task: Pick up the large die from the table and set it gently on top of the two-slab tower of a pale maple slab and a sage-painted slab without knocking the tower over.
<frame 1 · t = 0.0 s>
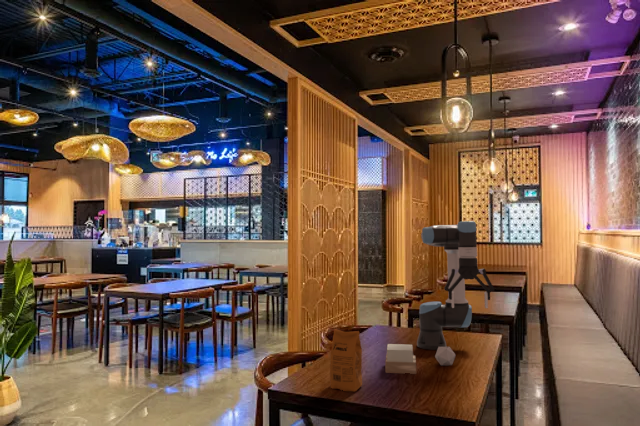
hand: (469, 307, 189), 28 cm above the table, tool pointing down, fingers open, 13 cm apart
bottom slab: (400, 369, 198), on the table, touching top slab
die: (445, 364, 204), on the table
top slab: (400, 358, 198), point 5 cm above the table, touching bottom slab
coffee package: (346, 387, 174), on the table
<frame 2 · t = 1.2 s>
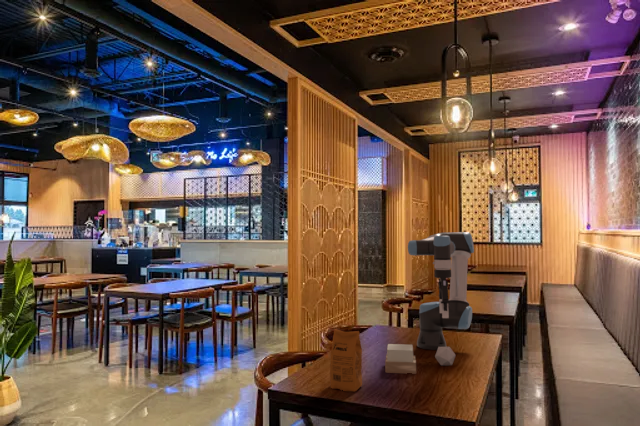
hand: (444, 315, 205), 22 cm above the table, tool pointing down, fingers open, 13 cm apart
nothing on the table moved.
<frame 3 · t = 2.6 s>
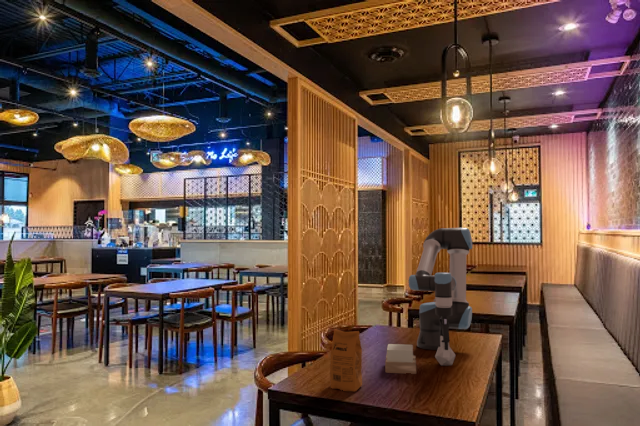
hand: (444, 353, 204), 5 cm above the table, tool pointing down, fingers open, 13 cm apart
nothing on the table moved.
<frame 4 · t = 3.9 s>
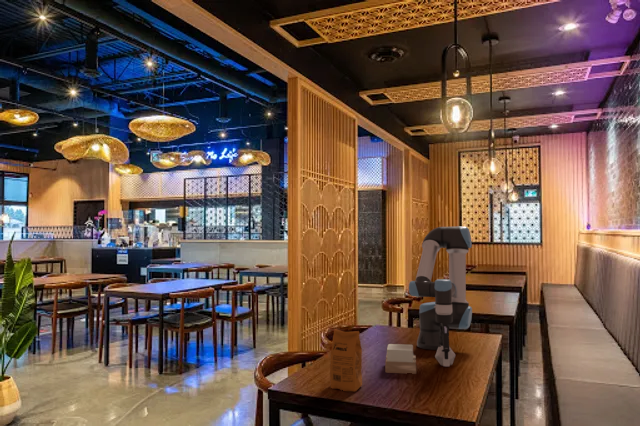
hand: (445, 363, 204), 1 cm above the table, tool pointing down, fingers closed on die, 9 cm apart
die: (445, 364, 204), on the table, touching gripper
everything else where it was.
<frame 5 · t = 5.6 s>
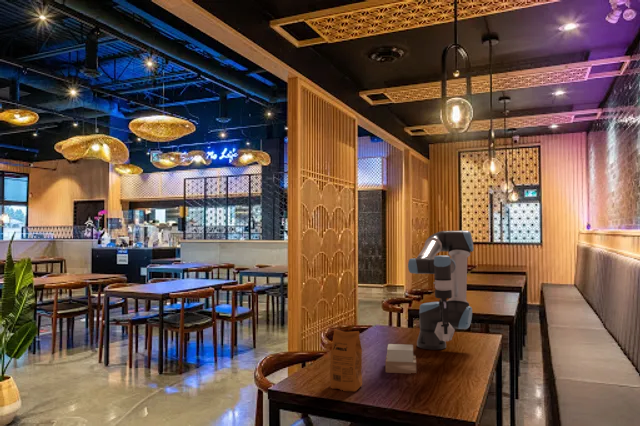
hand: (444, 338, 205), 12 cm above the table, tool pointing down, fingers closed on die, 9 cm apart
die: (444, 340, 205), point 11 cm above the table, touching gripper
everything else where it was.
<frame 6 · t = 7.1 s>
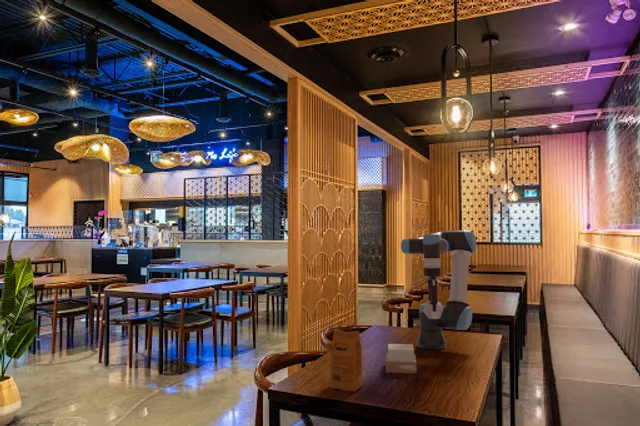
hand: (433, 316, 203), 22 cm above the table, tool pointing down, fingers closed on die, 9 cm apart
die: (433, 318, 203), point 21 cm above the table, touching gripper
everything else where it was.
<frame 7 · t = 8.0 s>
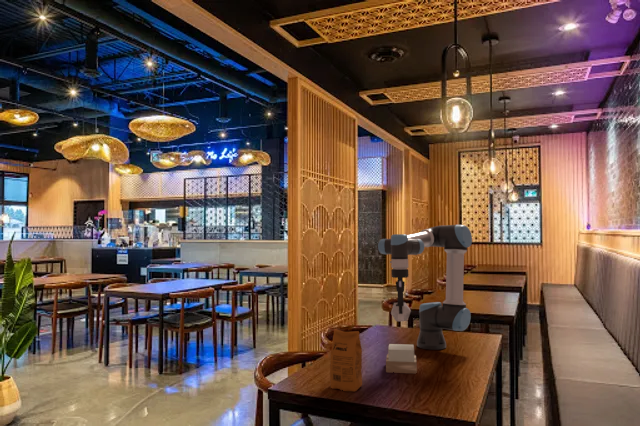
hand: (400, 319, 199), 22 cm above the table, tool pointing down, fingers closed on die, 9 cm apart
die: (400, 320, 199), point 21 cm above the table, touching gripper
everything else where it was.
when the fingers open (12 cm above the table, at t = 10.8 s): die drops 2 cm, resting on top slab.
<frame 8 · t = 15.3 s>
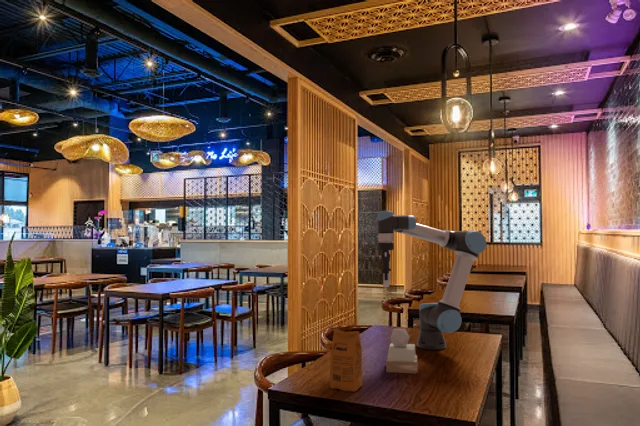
hand: (386, 285, 219), 35 cm above the table, tool pointing down, fingers open, 13 cm apart
die: (400, 347, 199), point 9 cm above the table, touching top slab
top slab: (402, 358, 199), point 4 cm above the table, touching bottom slab, die
at the end: die inside the target area on the top slab (0.8 cm from its centre), point 4.8 cm above the top slab's base; top slab tilted 0°; bottom slab moved 1.2 cm from its start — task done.
